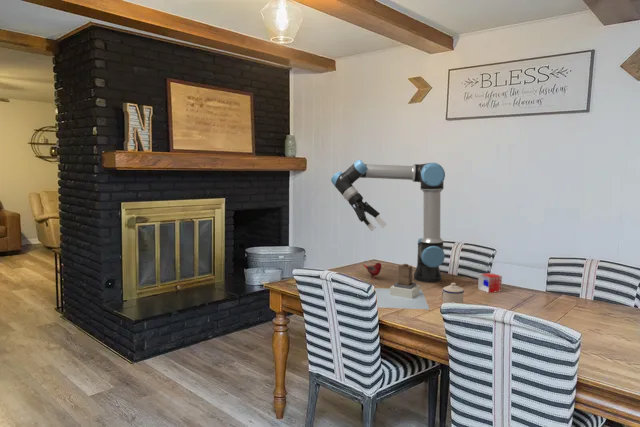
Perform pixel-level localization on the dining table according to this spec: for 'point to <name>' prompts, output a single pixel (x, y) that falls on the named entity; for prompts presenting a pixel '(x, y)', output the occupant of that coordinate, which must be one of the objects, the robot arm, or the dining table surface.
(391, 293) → the base brick
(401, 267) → the walnut pillar
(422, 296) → the mat
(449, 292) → the teacup with lid
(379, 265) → the decorative bird figurine
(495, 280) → the puzzle cube
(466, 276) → the dining table surface
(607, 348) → the dining table surface
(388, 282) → the dining table surface
